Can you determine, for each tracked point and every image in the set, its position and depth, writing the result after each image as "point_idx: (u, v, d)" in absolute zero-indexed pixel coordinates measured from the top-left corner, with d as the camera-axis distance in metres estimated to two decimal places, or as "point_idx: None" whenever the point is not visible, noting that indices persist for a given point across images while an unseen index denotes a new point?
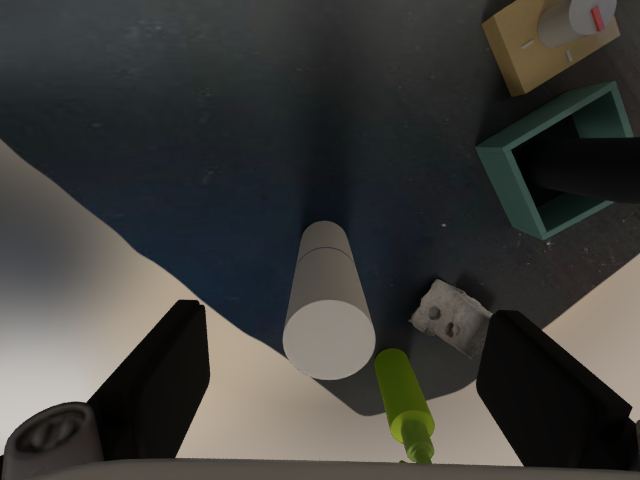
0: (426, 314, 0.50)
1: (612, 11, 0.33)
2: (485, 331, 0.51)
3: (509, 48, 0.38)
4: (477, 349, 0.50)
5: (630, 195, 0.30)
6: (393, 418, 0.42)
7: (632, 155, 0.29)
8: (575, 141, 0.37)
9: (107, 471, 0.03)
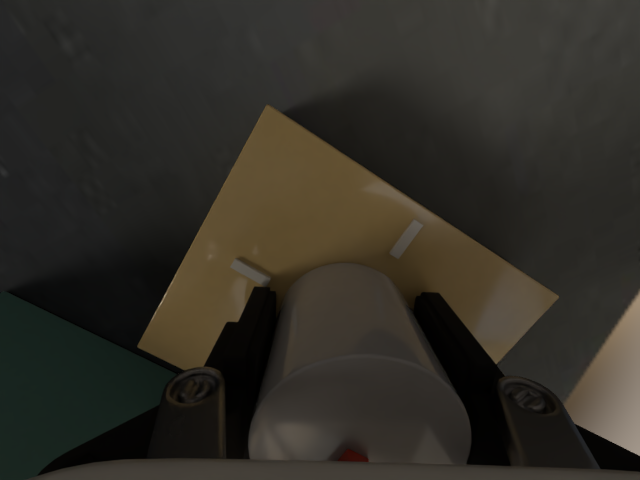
0: None
1: None
2: None
3: (211, 223, 0.11)
4: None
5: None
6: None
7: None
8: None
9: (107, 471, 0.03)
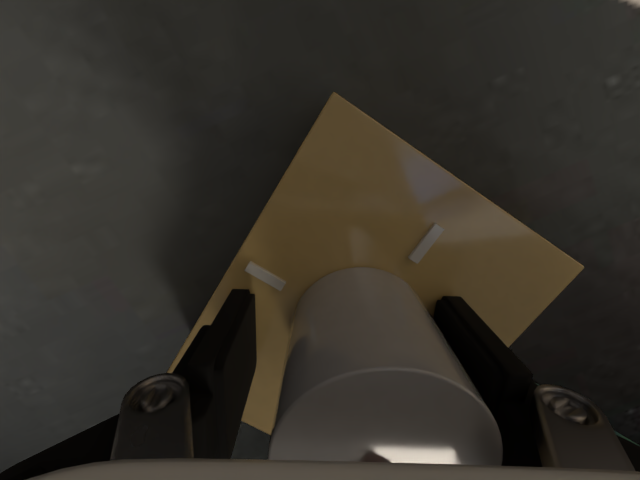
0: None
1: None
2: None
3: (260, 425, 0.13)
4: None
5: None
6: None
7: None
8: None
9: (107, 471, 0.03)
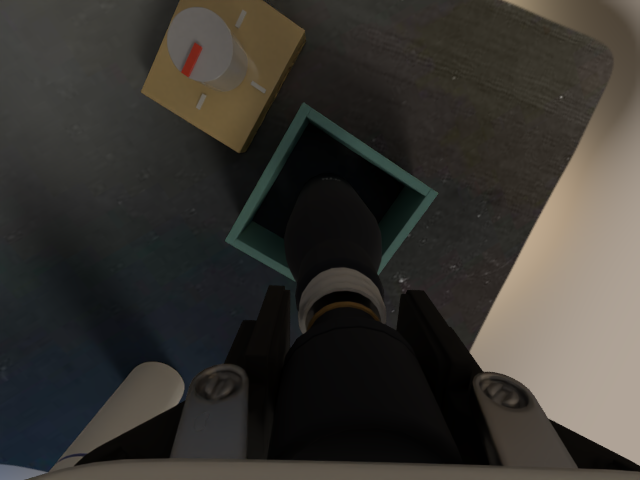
0: None
1: (211, 76, 0.24)
2: None
3: (184, 116, 0.29)
4: None
5: None
6: None
7: (286, 246, 0.19)
8: (299, 197, 0.27)
9: (107, 471, 0.03)
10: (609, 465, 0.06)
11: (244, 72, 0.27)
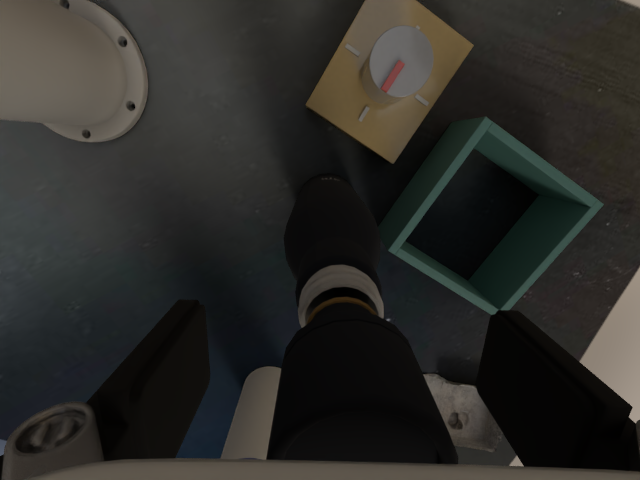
0: None
1: (407, 91, 0.24)
2: None
3: (344, 128, 0.30)
4: (496, 436, 0.40)
5: None
6: None
7: (286, 245, 0.19)
8: (298, 197, 0.27)
9: (107, 471, 0.03)
10: None
11: None
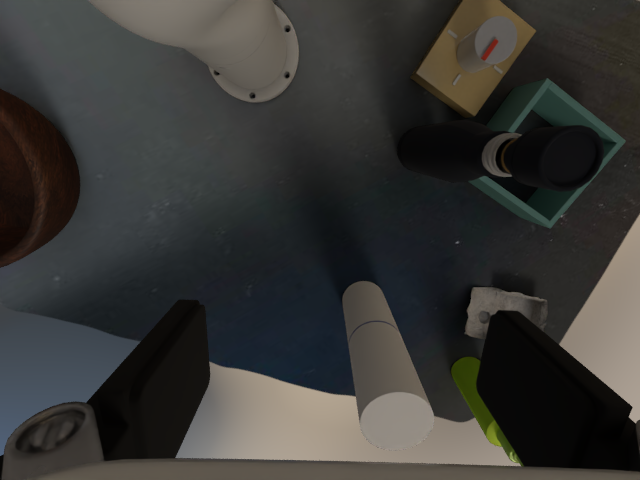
0: (477, 321, 0.54)
1: (498, 60, 0.37)
2: (539, 314, 0.53)
3: (442, 89, 0.42)
4: None
5: (456, 179, 0.32)
6: (486, 429, 0.47)
7: (438, 148, 0.32)
8: (418, 134, 0.39)
9: (107, 471, 0.03)
10: None
11: None
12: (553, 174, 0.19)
